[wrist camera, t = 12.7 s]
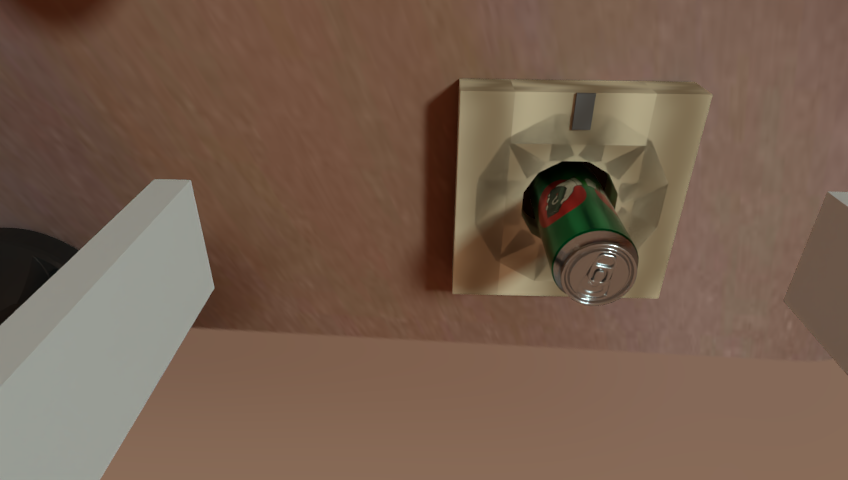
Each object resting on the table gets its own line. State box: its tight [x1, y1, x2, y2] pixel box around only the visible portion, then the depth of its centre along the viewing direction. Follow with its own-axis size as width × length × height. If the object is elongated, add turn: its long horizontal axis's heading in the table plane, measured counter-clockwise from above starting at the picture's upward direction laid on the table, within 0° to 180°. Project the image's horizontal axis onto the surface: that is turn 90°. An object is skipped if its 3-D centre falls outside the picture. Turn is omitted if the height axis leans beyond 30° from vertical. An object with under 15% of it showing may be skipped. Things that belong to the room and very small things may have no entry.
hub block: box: [452, 79, 713, 298], centre depth 41 cm, size 16×16×3 cm
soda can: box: [529, 161, 639, 306], centre depth 38 cm, size 5×5×12 cm
